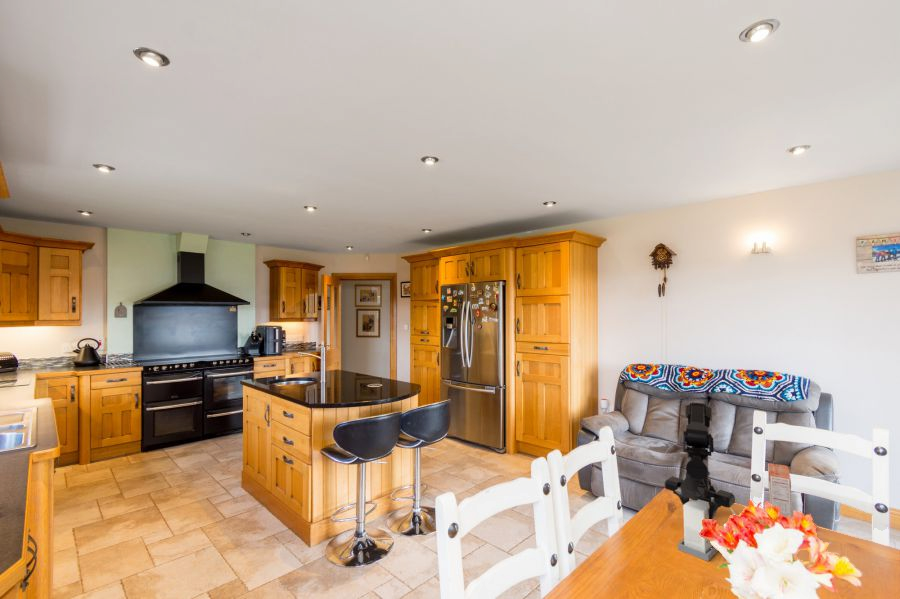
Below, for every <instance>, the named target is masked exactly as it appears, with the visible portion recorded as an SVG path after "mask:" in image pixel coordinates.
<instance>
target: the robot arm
mask: <svg viewBox="0 0 900 599" xmlns="http://www.w3.org/2000/svg"><path fill="white" fill-rule="evenodd" d="M684 409H685V414H684V416H685V419H687V424H686V425H685V430H683V431H682V432H683V437H682V438H683V441H682V442H683V443H682V444H683V445H682V446H683V447H682V452H684V453H687V454H686V456H687V459H686V464H685V469H686V470H685V471H686V473H685V478H684V479H682V478H679V477H676V476H671V477H669V478H668V479H666V480H664V489H665V490H668V491H671V492H672V493H673V494H674V495H676V496H677V497H678V498H679V500H680V502H681V505H682V506H683V505H684V504H685V503H687V502H688V501H690V500H691V499H692V500H695V501H696V500H698V499H699V500H703V501H706V502H709V506H710V509H709V519H713V518H714V519H715V515H716V513H717V511H718V509H719V508H721V507H724V508H730V507H732V506H733V505H734V504H735V503H736V497H735V495H734V493H733V492H729V491H725V490H724V489H723V490H722V489H719V490H718V491H716V489H715V487H714V485H712V478H710V475H711V473H710V471H709V457H712V453H714V448H715V447H714V437H713V435H712V434H711V433H709V427H710V425H711V424H710V422H712V421H713V414H712V413H713V412H712V411H713V410H712V407H709V406H707V404H706V403H703V402H695V401H694V402H690V403H689V404H687V405H685V408H684Z"/></svg>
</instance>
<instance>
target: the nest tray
mask: <svg viewBox="0 0 900 599" xmlns="http://www.w3.org/2000/svg"><path fill="white" fill-rule="evenodd" d="M677 550H679V551H681V552H684V553H686V554H688V555H690V556H694V557H696V558H698V559H701V560H703V561H707V562H709V561H710V560H711V559H712V558H713V557H714V556H715V555H716V554H717V553H718V552H719V551H717V550H716V549H715V548H714V547H712V549H710V550H709V551H708V552H707V553H703V552H701V551H698V550H696V549H693V548H690V547H688V546H685V545H684V538H683V539H682V540H680V541H679V542H678V543H677ZM715 553H716V554H715ZM714 554H715V555H714ZM713 555H714V556H713Z"/></svg>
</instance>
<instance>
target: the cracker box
mask: <svg viewBox="0 0 900 599" xmlns="http://www.w3.org/2000/svg"><path fill="white" fill-rule="evenodd" d="M767 467H768V469H767V471H768V472H767V480H768V500H769V501H768V503H770V504H772V505H774V506H778V507H780V508H781V514H782V515H783V516H786V517H791V516H792V517H793V508H792V507H793V506H792V504H793V503H792V482H791V481H792V480H791V476H790V475H791V474H790V470H789V466H788V465H785V464H778V463H777V464H776V463H770V462H768V463H767Z"/></svg>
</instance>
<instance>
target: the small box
mask: <svg viewBox="0 0 900 599" xmlns="http://www.w3.org/2000/svg"><path fill="white" fill-rule="evenodd" d="M709 509H710V506H709V502H706V501H703V500H699V499H698V500H696V501H695V500H692V499H689V501H688V502H687V503H685V504H684V505H683V504H682V510H683V511H682V512H683V514H682V515H683V539H684V545H685V546H688V547H690V548H693V549H696V550H698V551H701V552H703V553H707V552H708V551H709V550H710V549H711V548H712V547H713V546H712V545H711V543H710V540H709V539H707V538H703V537H701V536H700V535H699V533H700V532H701V530H702V529H703V526H702V520H703V519H709ZM713 520H714V521H715V517H714V518H713Z"/></svg>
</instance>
